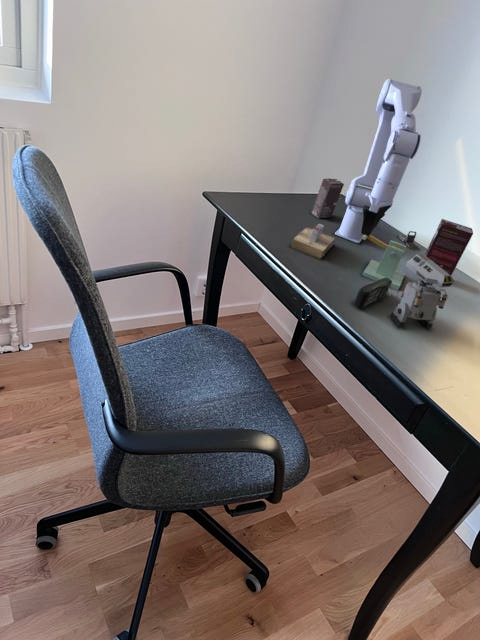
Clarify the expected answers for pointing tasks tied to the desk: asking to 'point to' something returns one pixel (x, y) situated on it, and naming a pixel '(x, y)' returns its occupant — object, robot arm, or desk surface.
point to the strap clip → (409, 240)
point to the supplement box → (448, 244)
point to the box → (327, 198)
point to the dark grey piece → (372, 292)
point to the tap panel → (312, 243)
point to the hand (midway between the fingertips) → (368, 230)
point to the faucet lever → (377, 241)
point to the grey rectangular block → (316, 232)
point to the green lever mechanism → (387, 265)
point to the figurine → (421, 292)
